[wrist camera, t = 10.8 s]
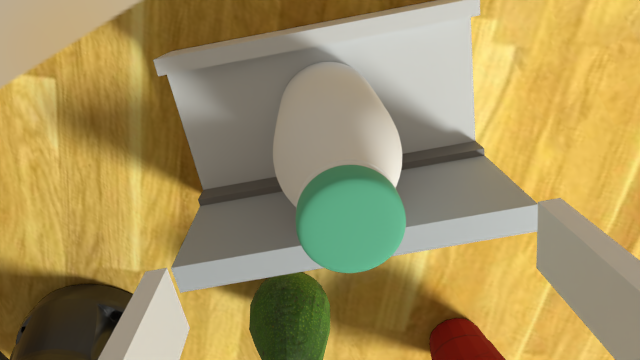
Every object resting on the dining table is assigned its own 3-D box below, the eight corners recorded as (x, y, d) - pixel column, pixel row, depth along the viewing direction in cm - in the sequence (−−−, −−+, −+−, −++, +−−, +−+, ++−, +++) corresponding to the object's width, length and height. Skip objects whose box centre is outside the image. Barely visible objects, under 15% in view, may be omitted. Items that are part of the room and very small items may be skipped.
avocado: (332, 308, 48) (341, 403, 37) (261, 318, 48) (249, 415, 37) (322, 247, 45) (329, 330, 34) (246, 257, 45) (229, 343, 34)
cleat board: (217, 200, 42) (180, 292, 30) (171, 51, 37) (101, 84, 24) (464, 156, 42) (537, 231, 29) (456, -4, 36) (542, 0, 23)
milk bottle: (267, 76, 35) (228, 171, 17) (361, 47, 34) (428, 114, 16) (296, 162, 38) (289, 324, 20) (383, 138, 37) (460, 281, 19)
